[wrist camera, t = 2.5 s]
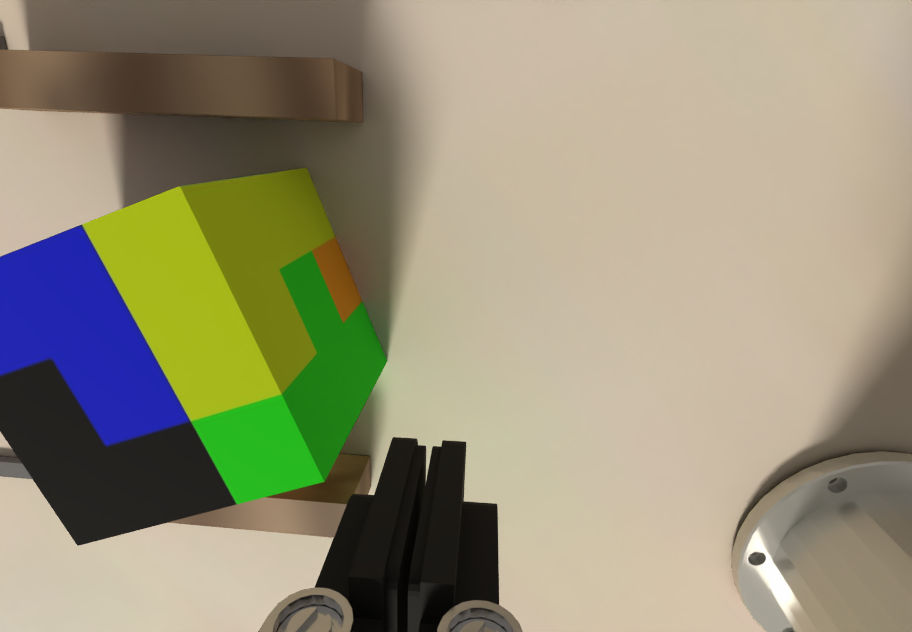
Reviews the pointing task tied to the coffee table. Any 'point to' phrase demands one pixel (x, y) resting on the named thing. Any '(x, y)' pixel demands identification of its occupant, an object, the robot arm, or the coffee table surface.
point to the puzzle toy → (183, 354)
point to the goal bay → (3, 464)
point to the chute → (208, 95)
